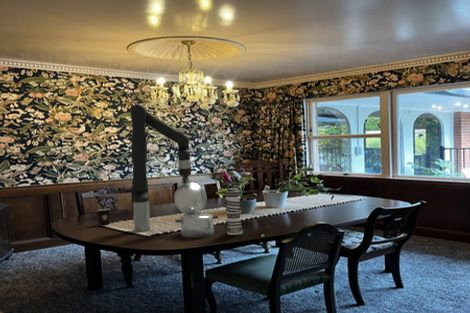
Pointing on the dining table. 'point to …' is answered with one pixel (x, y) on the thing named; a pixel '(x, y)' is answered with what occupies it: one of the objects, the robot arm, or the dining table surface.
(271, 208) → the dining table surface
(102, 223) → the coffee mug
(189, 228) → the cooking pot
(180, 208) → the pot lid
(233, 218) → the decorative candle
